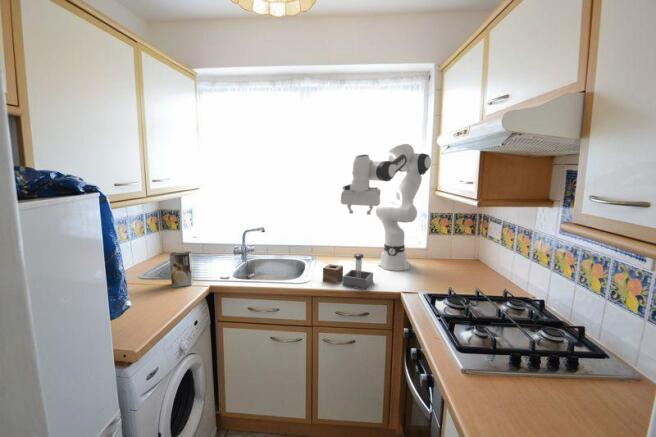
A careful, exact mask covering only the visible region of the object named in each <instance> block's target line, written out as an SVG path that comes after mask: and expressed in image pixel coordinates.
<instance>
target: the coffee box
mask: <svg viewBox="0 0 656 437" xmlns="http://www.w3.org/2000/svg"><path fill="white" fill-rule="evenodd" d="M192 262H193V261H192V252H191V251H175V252H171V253H170V254H169V265H170V266H169V267H170V268H169V269H170V279H171V280H170V281H171V287H172V288H179V287H188V286H189V287H190V286H192V285H193V282H194V279H193V278H194V277H193V266H192V264H193V263H192Z"/></svg>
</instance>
